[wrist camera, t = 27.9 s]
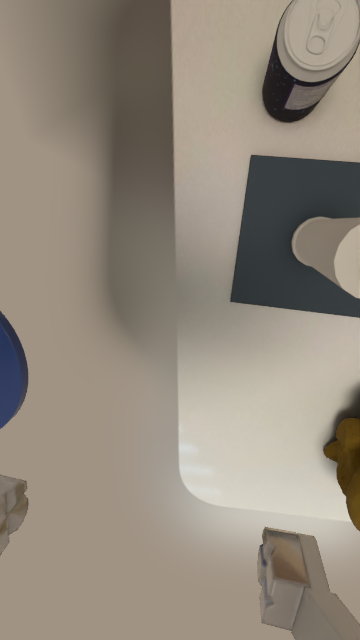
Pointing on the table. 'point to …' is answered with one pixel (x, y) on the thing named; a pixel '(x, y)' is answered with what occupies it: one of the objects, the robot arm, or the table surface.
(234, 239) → the table surface
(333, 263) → the bottle
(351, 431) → the gourd
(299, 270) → the slate mat
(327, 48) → the beverage can
